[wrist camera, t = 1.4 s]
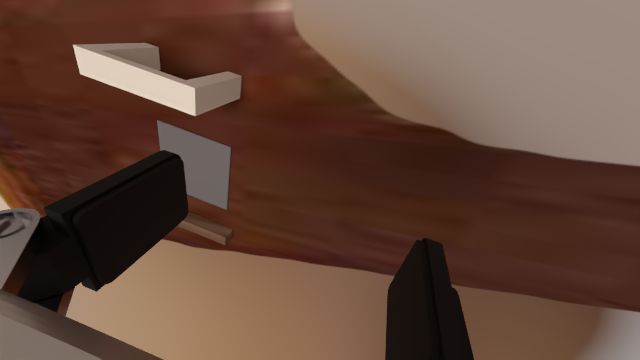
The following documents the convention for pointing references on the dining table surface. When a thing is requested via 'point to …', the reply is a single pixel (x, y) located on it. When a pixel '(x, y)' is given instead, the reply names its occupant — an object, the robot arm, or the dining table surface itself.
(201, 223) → the stopper wall
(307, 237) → the dining table surface
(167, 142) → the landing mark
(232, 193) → the dining table surface
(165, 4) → the dining table surface
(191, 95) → the bridge
